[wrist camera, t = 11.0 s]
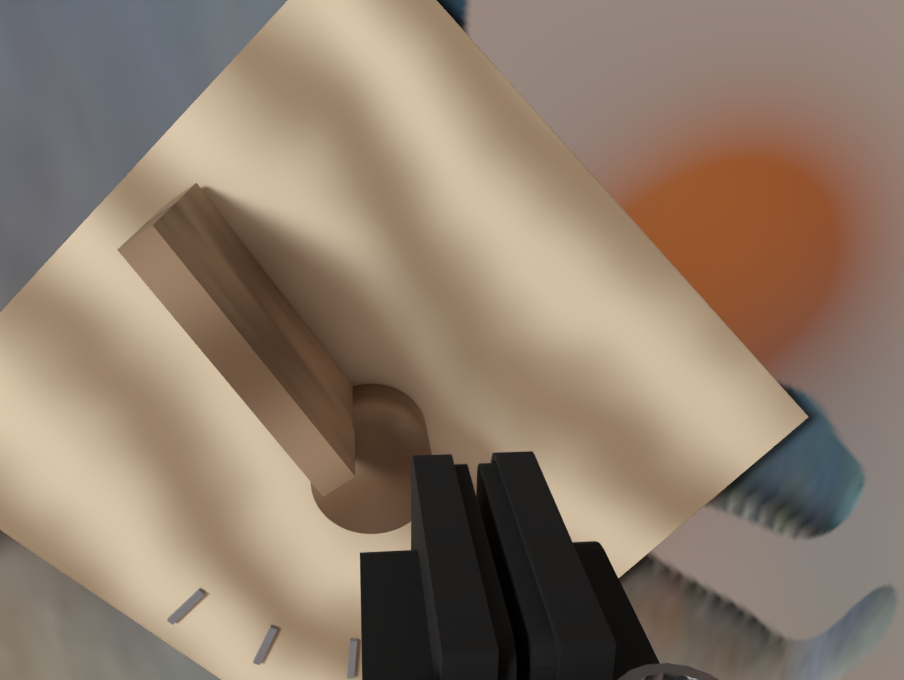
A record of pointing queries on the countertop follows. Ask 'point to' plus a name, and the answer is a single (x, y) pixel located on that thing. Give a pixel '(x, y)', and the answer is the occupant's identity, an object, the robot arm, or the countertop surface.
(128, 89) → the countertop surface
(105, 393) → the board
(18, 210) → the countertop surface
